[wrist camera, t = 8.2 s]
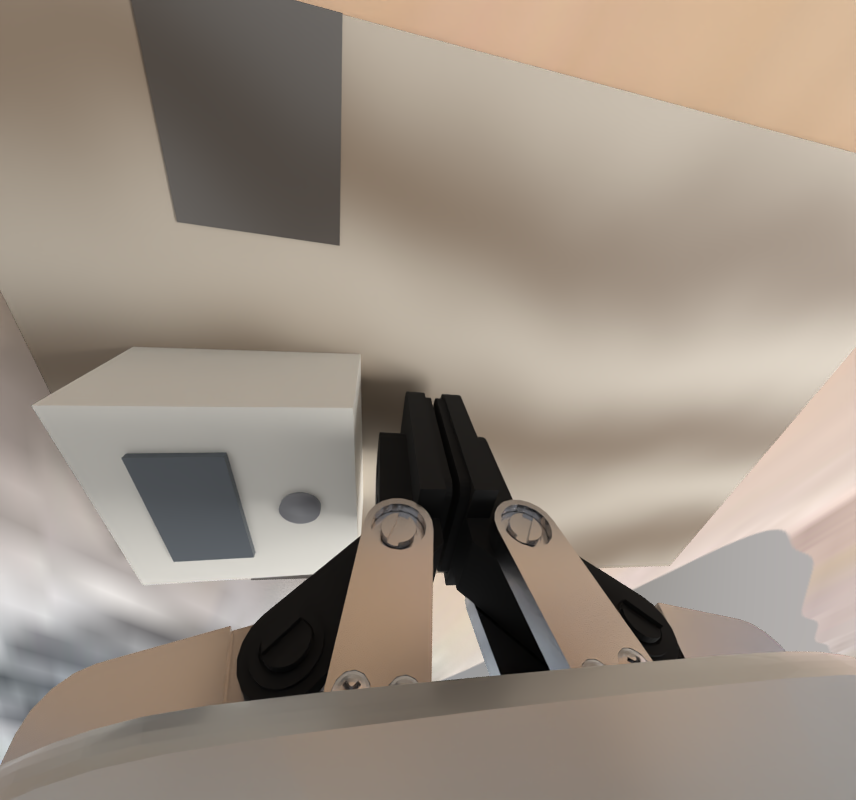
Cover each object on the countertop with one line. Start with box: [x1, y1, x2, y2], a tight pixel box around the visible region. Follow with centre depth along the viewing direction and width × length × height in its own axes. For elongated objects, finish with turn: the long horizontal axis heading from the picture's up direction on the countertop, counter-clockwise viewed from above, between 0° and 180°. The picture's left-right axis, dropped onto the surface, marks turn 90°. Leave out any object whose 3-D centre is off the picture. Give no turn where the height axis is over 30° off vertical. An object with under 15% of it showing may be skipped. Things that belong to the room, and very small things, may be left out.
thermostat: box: [31, 347, 363, 585], centre depth 9 cm, size 6×6×3 cm
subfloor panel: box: [0, 0, 856, 580], centre depth 12 cm, size 18×26×1 cm
